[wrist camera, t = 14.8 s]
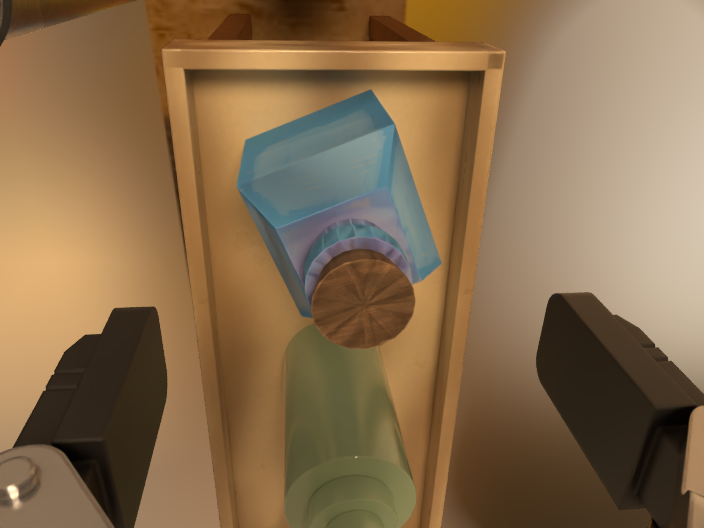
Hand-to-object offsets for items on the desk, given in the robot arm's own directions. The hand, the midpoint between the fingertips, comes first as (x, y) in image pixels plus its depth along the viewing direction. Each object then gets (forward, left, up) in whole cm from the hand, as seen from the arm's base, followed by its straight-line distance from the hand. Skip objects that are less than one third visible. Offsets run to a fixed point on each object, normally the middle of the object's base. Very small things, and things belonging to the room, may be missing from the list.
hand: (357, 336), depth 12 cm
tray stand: (+1, -13, -40) cm, 42 cm away
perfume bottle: (+1, -2, -17) cm, 17 cm away
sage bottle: (+1, -13, -17) cm, 22 cm away
